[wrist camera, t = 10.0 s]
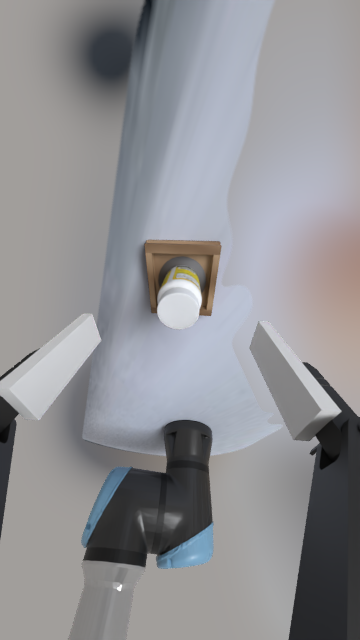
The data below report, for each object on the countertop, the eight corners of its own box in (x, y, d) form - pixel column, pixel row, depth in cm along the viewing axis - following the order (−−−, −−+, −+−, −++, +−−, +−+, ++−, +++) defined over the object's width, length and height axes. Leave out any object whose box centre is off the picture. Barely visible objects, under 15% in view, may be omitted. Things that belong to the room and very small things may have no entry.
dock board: (209, 310, 25) (210, 317, 23) (154, 308, 25) (151, 314, 23) (219, 241, 19) (221, 243, 17) (148, 239, 20) (144, 241, 18)
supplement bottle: (173, 302, 23) (165, 338, 16) (159, 272, 21) (142, 300, 14) (204, 290, 22) (210, 324, 15) (192, 258, 19) (192, 280, 12)
